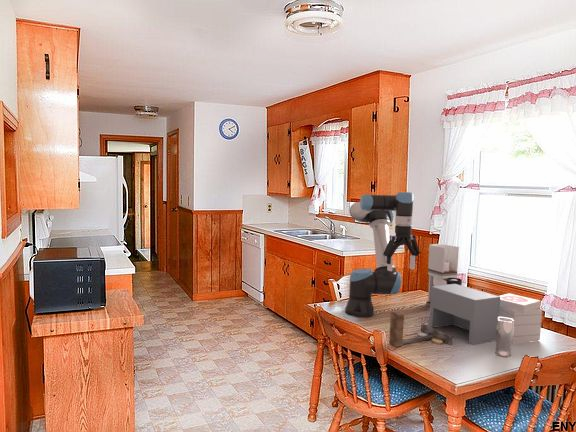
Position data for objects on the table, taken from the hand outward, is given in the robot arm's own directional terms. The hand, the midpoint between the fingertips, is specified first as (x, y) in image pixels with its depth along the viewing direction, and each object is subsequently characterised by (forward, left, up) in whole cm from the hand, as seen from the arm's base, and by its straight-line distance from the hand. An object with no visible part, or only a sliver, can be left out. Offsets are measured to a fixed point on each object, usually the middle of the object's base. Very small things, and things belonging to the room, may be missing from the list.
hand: (401, 269), depth 216 cm
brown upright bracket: (+16, -4, -28) cm, 33 cm away
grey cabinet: (+16, +25, -29) cm, 41 cm away
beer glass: (+42, +20, -29) cm, 55 cm away
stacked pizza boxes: (+24, +45, -29) cm, 59 cm away
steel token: (+12, +5, -29) cm, 32 cm away
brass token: (+20, +5, -29) cm, 36 cm away
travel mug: (-5, +41, -29) cm, 50 cm away
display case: (-21, +49, -29) cm, 61 cm away
